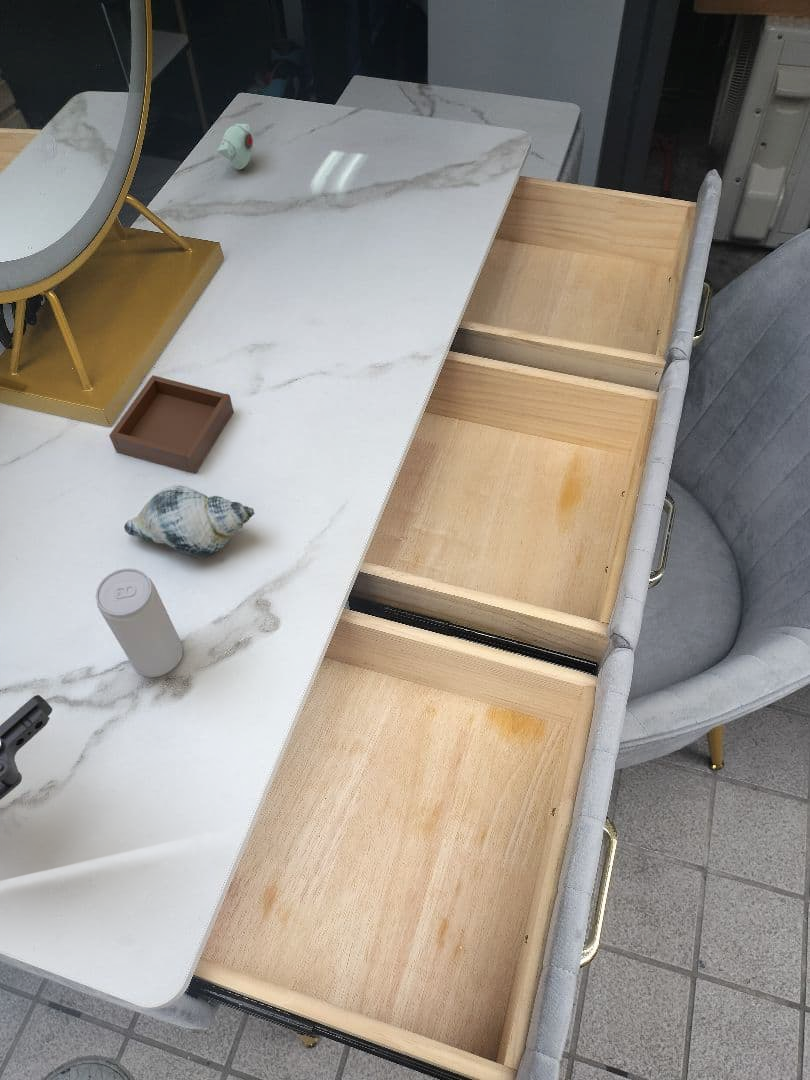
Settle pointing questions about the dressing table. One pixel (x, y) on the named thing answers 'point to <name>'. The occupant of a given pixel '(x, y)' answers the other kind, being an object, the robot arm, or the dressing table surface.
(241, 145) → the robot head
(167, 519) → the seashell
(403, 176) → the dressing table surface
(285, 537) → the dressing table surface
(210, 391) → the tray
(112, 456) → the dressing table surface
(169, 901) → the dressing table surface
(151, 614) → the beverage can
